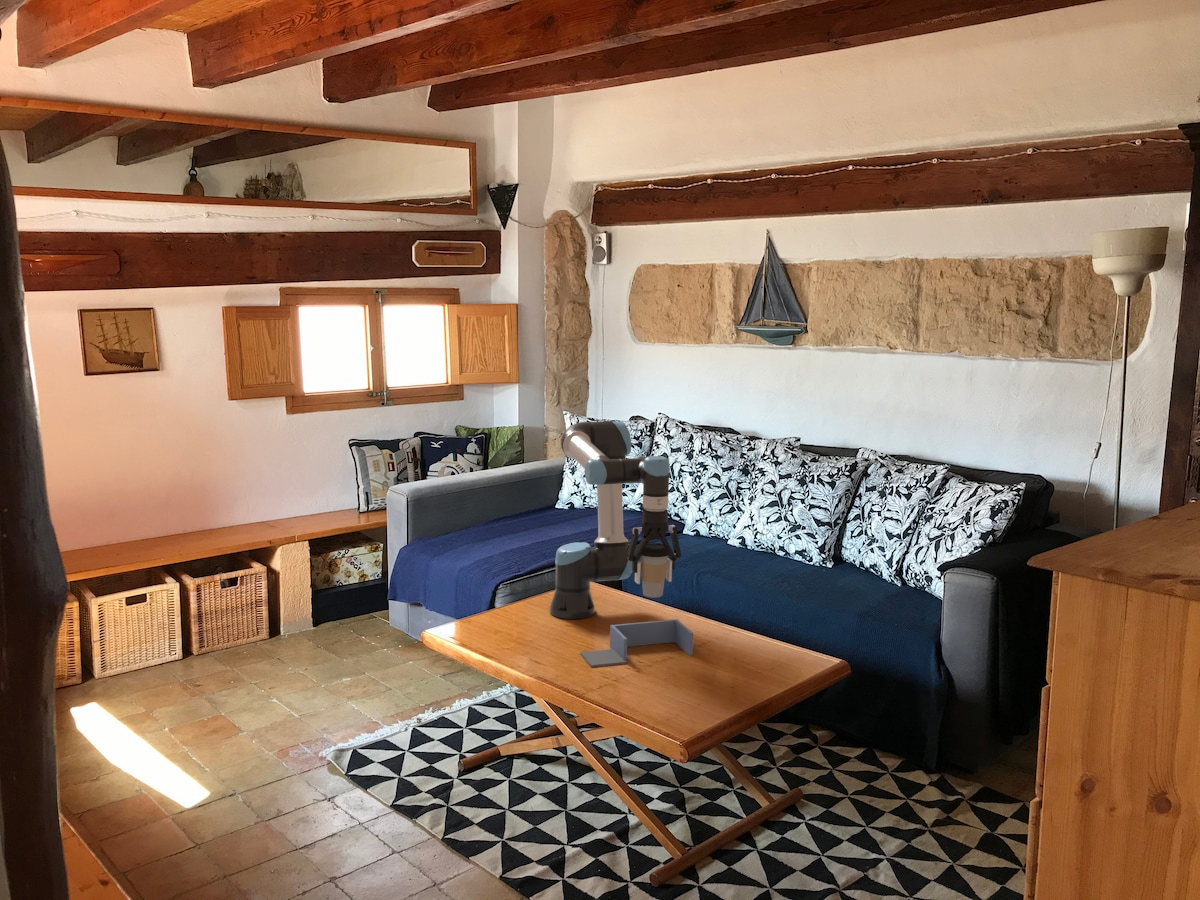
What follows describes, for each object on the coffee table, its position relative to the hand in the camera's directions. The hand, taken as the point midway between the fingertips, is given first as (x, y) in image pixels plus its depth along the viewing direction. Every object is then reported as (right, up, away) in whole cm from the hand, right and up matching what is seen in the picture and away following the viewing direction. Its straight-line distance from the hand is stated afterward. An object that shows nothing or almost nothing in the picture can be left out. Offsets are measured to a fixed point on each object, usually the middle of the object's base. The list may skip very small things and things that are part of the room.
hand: (653, 581), depth 298 cm
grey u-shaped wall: (0, -22, +3) cm, 22 cm away
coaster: (-15, -23, -4) cm, 27 cm away
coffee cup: (0, -4, +1) cm, 4 cm away
